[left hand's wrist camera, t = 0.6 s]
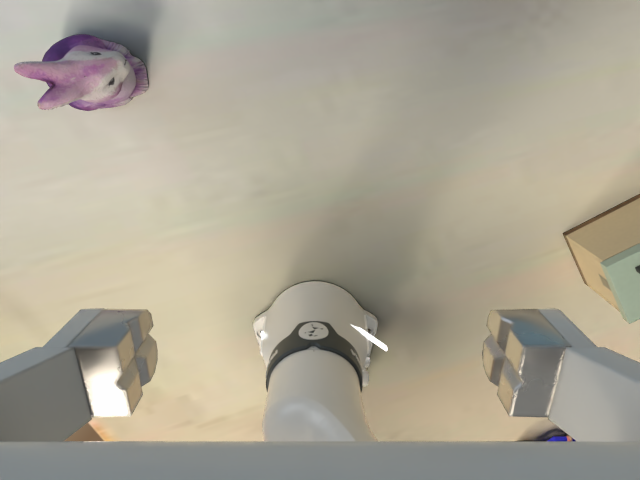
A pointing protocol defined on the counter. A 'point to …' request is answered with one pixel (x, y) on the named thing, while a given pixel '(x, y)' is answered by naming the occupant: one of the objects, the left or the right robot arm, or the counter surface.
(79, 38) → the figurine
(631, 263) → the lid
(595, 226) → the chest
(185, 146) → the counter surface
